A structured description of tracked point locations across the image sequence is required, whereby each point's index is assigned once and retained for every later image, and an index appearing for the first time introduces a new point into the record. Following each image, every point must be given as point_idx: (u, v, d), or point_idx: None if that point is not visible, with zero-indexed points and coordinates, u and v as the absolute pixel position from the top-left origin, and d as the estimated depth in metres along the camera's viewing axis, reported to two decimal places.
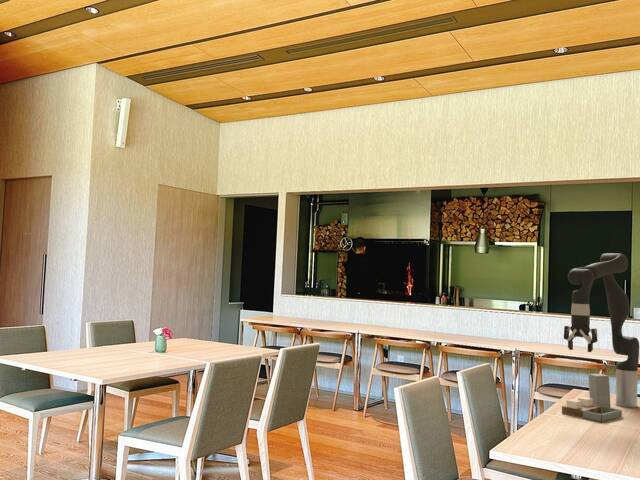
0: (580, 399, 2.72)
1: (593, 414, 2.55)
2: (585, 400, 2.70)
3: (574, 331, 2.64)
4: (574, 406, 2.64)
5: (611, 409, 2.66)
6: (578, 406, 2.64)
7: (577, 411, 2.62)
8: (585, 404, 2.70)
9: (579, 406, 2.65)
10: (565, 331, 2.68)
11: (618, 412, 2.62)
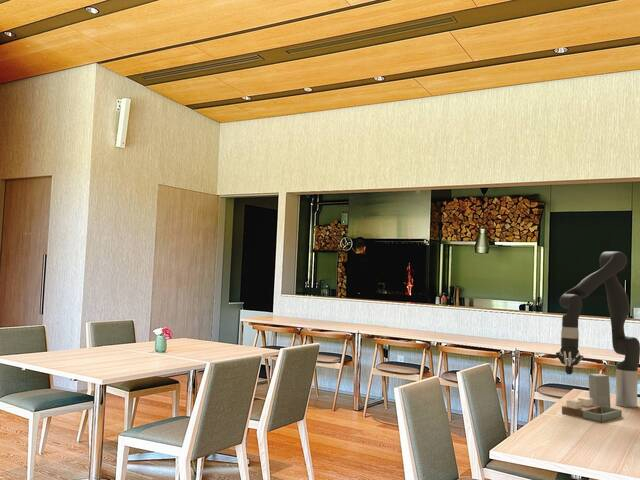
0: (580, 399, 2.72)
1: (593, 414, 2.55)
2: (585, 400, 2.70)
3: (564, 353, 2.80)
4: (574, 406, 2.64)
5: (611, 409, 2.66)
6: (578, 406, 2.64)
7: (577, 411, 2.62)
8: (585, 404, 2.70)
9: (579, 406, 2.65)
10: (559, 357, 2.82)
11: (618, 412, 2.62)
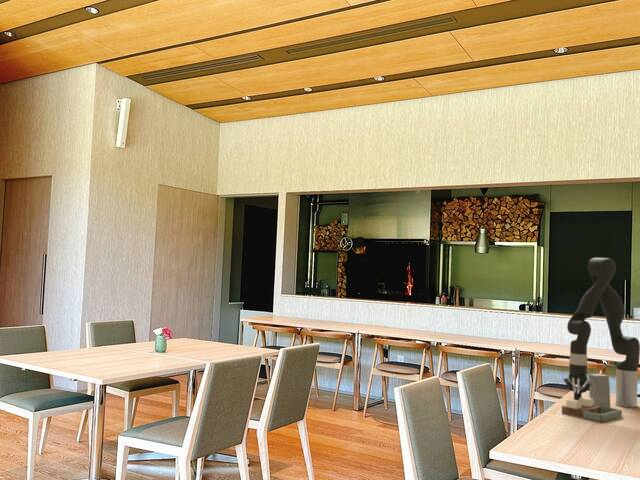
0: (581, 399, 2.72)
1: (593, 414, 2.55)
2: (586, 400, 2.70)
3: (573, 380, 2.76)
4: (574, 406, 2.64)
5: (611, 409, 2.66)
6: (578, 406, 2.64)
7: (577, 411, 2.62)
8: (586, 404, 2.70)
9: (579, 406, 2.65)
10: (567, 383, 2.79)
11: (618, 412, 2.62)
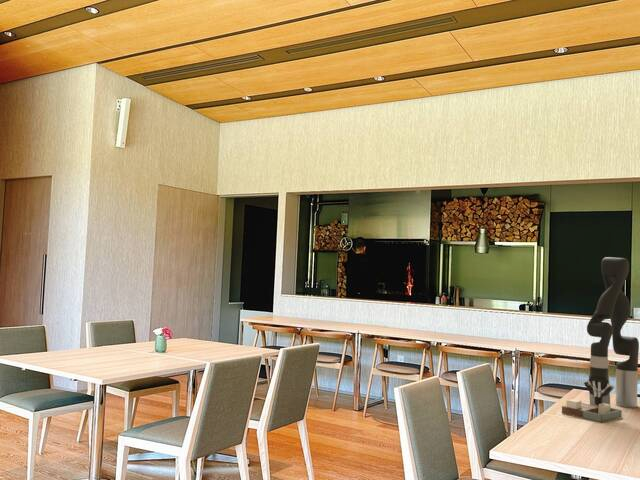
0: (604, 408, 2.63)
1: (593, 414, 2.55)
2: (603, 413, 2.63)
3: (593, 383, 2.68)
4: (574, 406, 2.64)
5: (611, 409, 2.66)
6: (578, 406, 2.64)
7: (577, 411, 2.62)
8: (599, 412, 2.65)
9: (579, 406, 2.65)
10: (587, 387, 2.71)
11: (618, 412, 2.62)
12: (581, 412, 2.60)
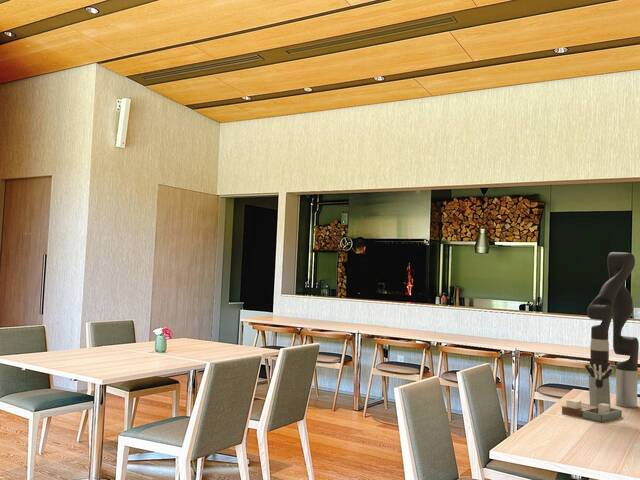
0: (603, 408, 2.63)
1: (593, 414, 2.55)
2: (603, 413, 2.63)
3: (594, 366, 2.68)
4: (574, 406, 2.64)
5: (611, 409, 2.66)
6: (578, 406, 2.64)
7: (577, 411, 2.62)
8: (599, 412, 2.65)
9: (579, 406, 2.65)
10: (588, 370, 2.71)
11: (618, 412, 2.62)
12: (581, 412, 2.60)
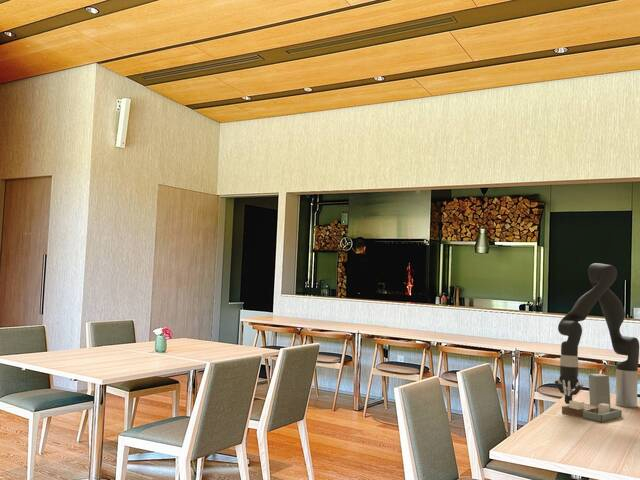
0: (603, 408, 2.63)
1: (593, 414, 2.55)
2: (603, 413, 2.63)
3: (563, 382, 2.69)
4: (577, 407, 2.63)
5: (611, 409, 2.66)
6: (581, 407, 2.63)
7: (577, 411, 2.62)
8: (599, 412, 2.65)
9: (582, 407, 2.64)
10: (558, 385, 2.71)
11: (618, 412, 2.62)
12: (581, 412, 2.60)
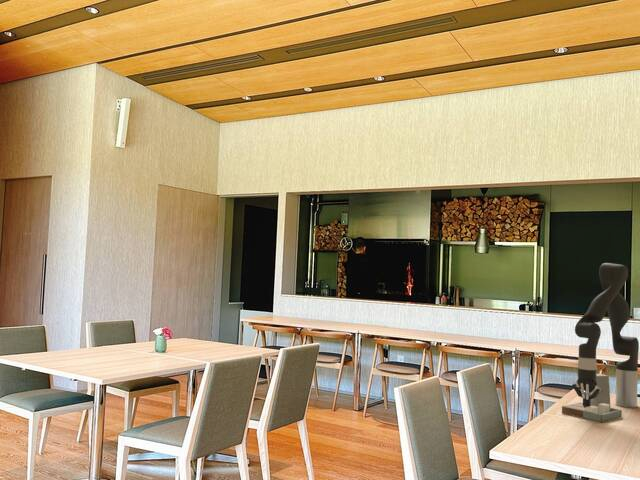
0: (603, 408, 2.63)
1: (593, 414, 2.55)
2: (603, 413, 2.63)
3: (581, 385, 2.62)
4: None
5: (611, 409, 2.66)
6: None
7: (577, 411, 2.62)
8: (599, 412, 2.65)
9: None
10: (575, 389, 2.65)
11: (618, 412, 2.62)
12: (581, 412, 2.60)
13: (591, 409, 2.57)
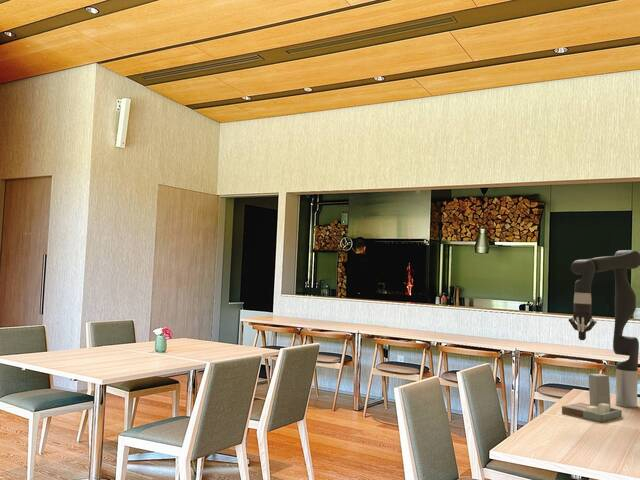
0: (603, 408, 2.63)
1: (593, 414, 2.55)
2: (603, 413, 2.63)
3: (577, 319, 2.78)
4: None
5: (611, 409, 2.66)
6: None
7: (577, 411, 2.62)
8: (599, 412, 2.65)
9: None
10: (572, 323, 2.81)
11: (618, 412, 2.62)
12: (581, 412, 2.60)
13: (591, 409, 2.57)
